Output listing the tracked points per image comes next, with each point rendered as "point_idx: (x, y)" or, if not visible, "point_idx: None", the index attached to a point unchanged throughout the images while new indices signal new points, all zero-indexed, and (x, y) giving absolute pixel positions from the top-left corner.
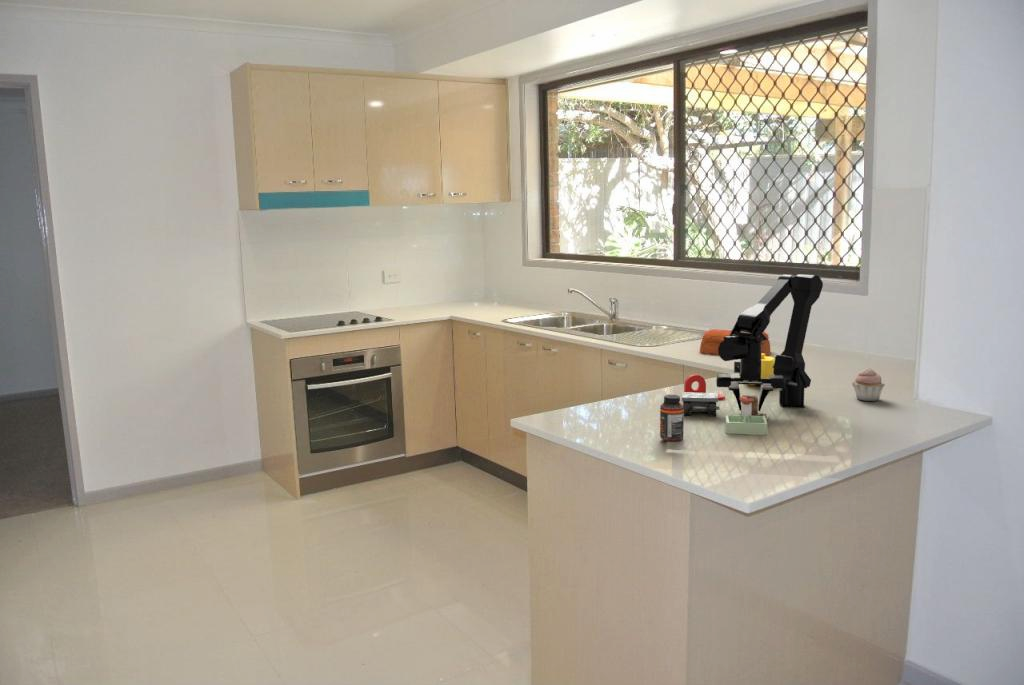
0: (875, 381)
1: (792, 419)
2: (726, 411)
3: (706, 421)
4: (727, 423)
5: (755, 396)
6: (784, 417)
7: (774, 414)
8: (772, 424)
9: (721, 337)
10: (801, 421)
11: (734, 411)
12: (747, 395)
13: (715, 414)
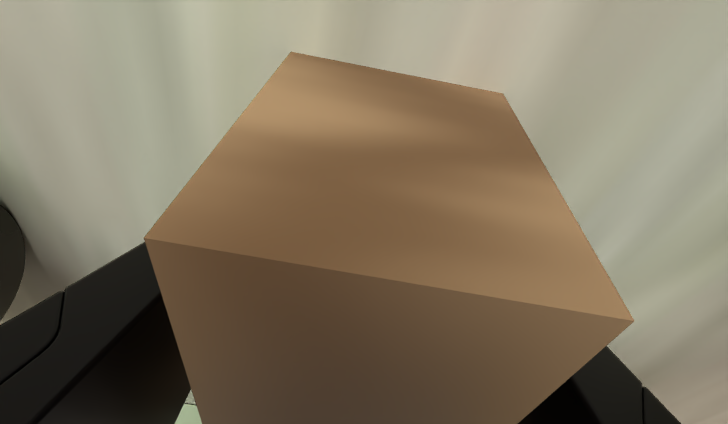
0: None
1: (676, 366)
2: (56, 28)
3: None
4: None
5: (517, 388)
6: (664, 322)
7: (661, 230)
8: None
9: None
10: (693, 400)
11: (178, 37)
12: (327, 294)
13: (14, 281)
